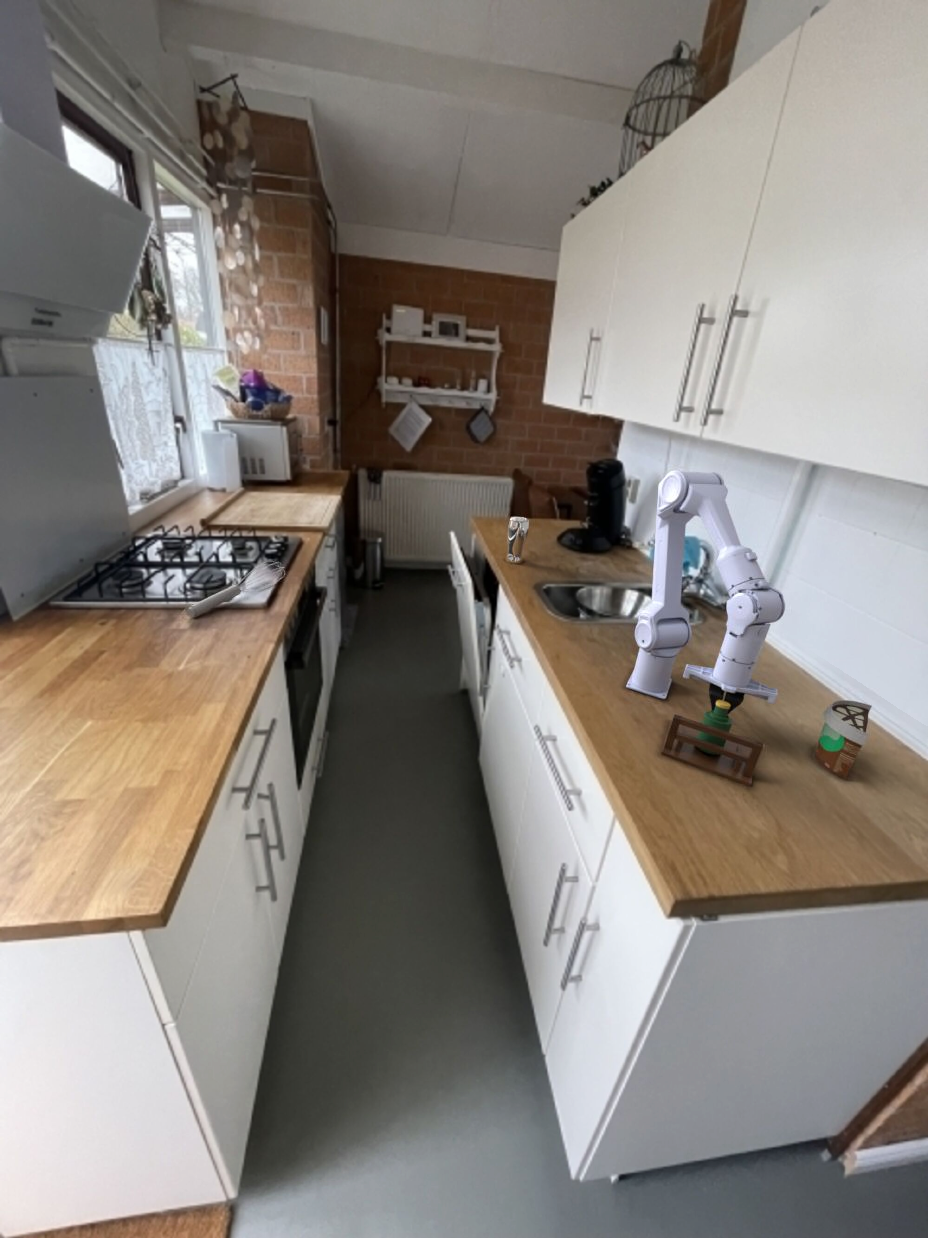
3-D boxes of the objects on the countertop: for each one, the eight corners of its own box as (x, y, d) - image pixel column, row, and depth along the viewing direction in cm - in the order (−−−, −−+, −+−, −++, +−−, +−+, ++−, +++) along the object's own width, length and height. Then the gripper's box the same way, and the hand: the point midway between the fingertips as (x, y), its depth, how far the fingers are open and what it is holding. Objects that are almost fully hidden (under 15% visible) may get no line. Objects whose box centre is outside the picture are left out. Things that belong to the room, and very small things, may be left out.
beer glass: (503, 562, 177) (508, 519, 171) (504, 556, 184) (510, 515, 177) (523, 565, 176) (529, 522, 170) (524, 559, 183) (530, 517, 177)
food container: (811, 735, 97) (831, 690, 93) (849, 750, 93) (872, 704, 89) (801, 766, 88) (823, 718, 84) (843, 784, 85) (868, 735, 80)
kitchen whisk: (172, 618, 118) (168, 593, 115) (273, 577, 147) (271, 556, 144) (193, 624, 116) (189, 599, 113) (290, 581, 145) (289, 560, 142)
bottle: (695, 738, 92) (710, 694, 89) (722, 747, 90) (737, 702, 87) (694, 748, 88) (709, 703, 85) (721, 758, 86) (737, 712, 84)
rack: (669, 722, 97) (679, 691, 94) (751, 749, 91) (764, 717, 88) (660, 754, 88) (671, 720, 85) (750, 786, 82) (764, 752, 79)
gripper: (690, 652, 86) (670, 719, 91) (788, 679, 80) (759, 749, 86) (694, 637, 92) (675, 701, 97) (785, 661, 86) (759, 727, 91)
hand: (715, 722), depth 92 cm, fingers closed, pressing on bottle
